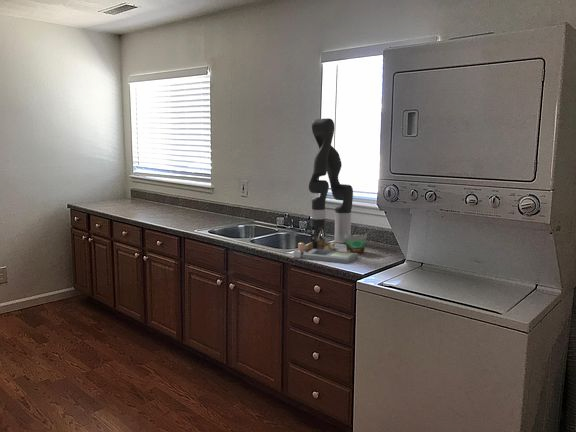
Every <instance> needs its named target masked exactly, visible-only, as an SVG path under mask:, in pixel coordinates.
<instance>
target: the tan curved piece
mask: <svg viewBox="0 0 576 432" xmlns="http://www.w3.org/2000/svg"><path fill="white" fill-rule="evenodd" d="M335 244H336V242H331V241H325V247H323V249H324V250H334V249H335ZM310 250H311V242H309V243H307V244H304V252H306V251H307V252H308V251H310Z"/></svg>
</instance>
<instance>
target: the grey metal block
mask: <svg viewBox="0 0 576 432" xmlns="http://www.w3.org/2000/svg"><path fill="white" fill-rule="evenodd" d="M301 258H302V255H301V250H298V249H294V250H293V259H301Z"/></svg>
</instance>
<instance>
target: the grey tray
mask: <svg viewBox="0 0 576 432" xmlns="http://www.w3.org/2000/svg"><path fill="white" fill-rule="evenodd" d="M358 257H359V254H358V253H351V252H347V251H341V250H334V249H332V250H324V249H312V250H311V249H309V250H307V252H306V251H305V252H304V254H303V255H302V259H306V260H314V261H322V262H331V263H340V264H350V263H351V262H352V261H354V260H356V259H357V258H358Z"/></svg>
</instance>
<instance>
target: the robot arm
mask: <svg viewBox="0 0 576 432" xmlns="http://www.w3.org/2000/svg"><path fill="white" fill-rule="evenodd" d="M311 131H312V134H313V136H314V139H315V141H316V144H317V146H318V148H319V150H318V152H317V153H316V155H315V157H314V161H313V162H314V163H313V171H312V175H311V177H310V180H309V182H308V183H309V184H308V191H309V192H310V193H311V194H319V196H318V197H314V198H312V199H311V211H310V213H311V215H310V216H311V218H310V220H311V221H310V225H311V227H313V229H311V230H310V242H311V241H312V242H313V249H317V240H318V239H319V238H320V239H325V238H326V214H327V213H326V200H327V196H328V192H329V188H330V189H331V195H332V197H333V199H335V200H337V201H342V204H341V205H338V206H336V207H334V208H335V209H334V243H339V244H346V238H344V237H345V234H347V235H351V234H352V233H351V231H352V228H351V227H352V208H353V200H354V198H353V197H354V190H353V189H354V188H353V186H352V185H350V184H343V183H340V181H339V174H340V173H341V172H340V171H341V169H342V161H341V157H340V154H339V153H338V150H336V148H334V146H332V143H333V142H332V141H333V137H334V134H335V122H334V120H333V118H327V117H326V118H317V119H315V118H314V119H313V121H312V122H311ZM326 175H327V176H328V180H329V182H328V181H327V180H324V179H319V178H320V177H324V176H326Z"/></svg>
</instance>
